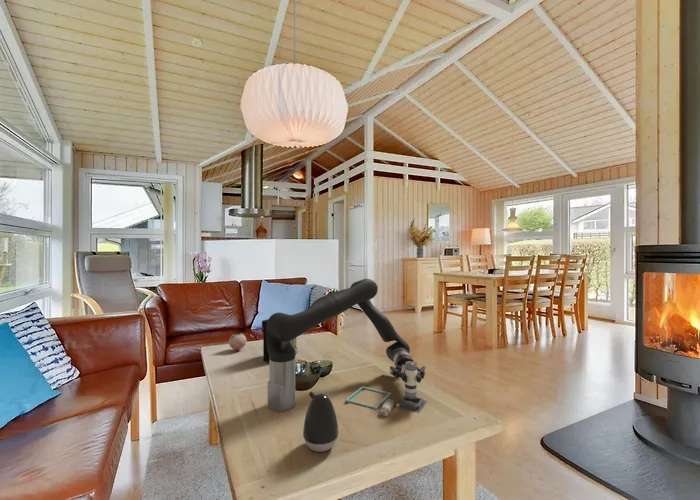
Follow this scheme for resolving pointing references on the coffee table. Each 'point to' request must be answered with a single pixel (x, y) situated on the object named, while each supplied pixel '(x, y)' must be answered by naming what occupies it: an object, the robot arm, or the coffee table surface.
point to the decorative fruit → (237, 341)
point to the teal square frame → (356, 393)
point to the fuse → (386, 408)
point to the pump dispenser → (320, 423)
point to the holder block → (411, 404)
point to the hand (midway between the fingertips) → (412, 379)
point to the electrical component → (265, 351)
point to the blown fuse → (411, 379)
